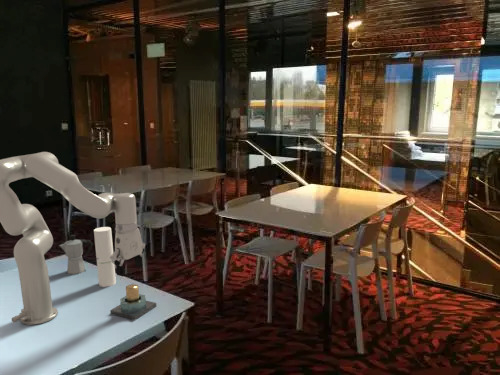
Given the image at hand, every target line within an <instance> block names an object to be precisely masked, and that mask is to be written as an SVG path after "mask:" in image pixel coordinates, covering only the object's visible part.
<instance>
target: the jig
mask: <svg viewBox="0 0 500 375" xmlns="http://www.w3.org/2000/svg"><path fill="white" fill-rule="evenodd" d="M156 307H157V302H153V301H149V300H147V298H146V294H142V293H141V294H140V293H139V301H137V302H133V303H128V302H127V297H126V295H125V296H123V297H121V298H120V304H119V305H117V306H115V307H113V308H112V309H110V315H112V316H118V317H121V318H125V319H128V320H132V321H136V320H138V319H139V318H140V317H143V316H144V315H145V314H147V313H148V312H150V311H151V310H153V309H155V308H156Z"/></svg>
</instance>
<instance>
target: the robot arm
mask: <svg viewBox="0 0 500 375" xmlns="http://www.w3.org/2000/svg"><path fill="white" fill-rule="evenodd" d="M78 177H79V176H78V175H77V174H76V173H75V172H73V171H72V170H70V169H68V168H66V167H65V166H63V165H62V164H60V163H59V159H58V158H57V156H55V154H53V153H51V152H50V151H49V152H48V151H41V152H37V153H31V154H30V153H29V154H25V155H17V156H11V157H6V158H2V159H0V224H1V226H2V228H3V230H4V231H5V233H7V234H9V235H10V236H20V235H22V237H21V238H20V239H19V240H18V241H17V242H16V244H15V245H14V247H13V257H14V260H15V263H16V266H17V270H18V271H17V272H18V277H19V278H18V279H19V282H20V283H19V284H20V290H21V291H20V292H21V298H22V305H23V308H22V309H21V310H20V313H18V315H15V316H13V317H11V322H12V323H13V324H15V323H16V322H18V321H20V322H21V324H23V325H28V326H29V325H30V326H33V325H40V324H44V323H47V322H50V321H51V320H53V319H55V318H56V317H57V316H58V314H59V313H58V312H59V311H58V308H56V307H54V306H53V300H52V298H53V297H52V291H51V284H50V283H51V282H50V275H49V269H48V264H47V262H46V259H45V254H47V252H48V251H49V250H50V249H51V248H52V246H53V244H54V238H53V235H52V233H51V231H50V229H49V227H48V225H47V223H46V220H44V217H43V215H42V214H41V212H40V211H39V210H38V208H37V207H35V206H34V205H33V204H29V203H21V201H20V200H19V197H18V196H17V194H16V193H15V192H14V190H13V189H12V188H11V187H10V186H9V185H10V183H12V182H16V181H18V180H22V179H28V178H34V179H36V180H37V181H40V182H41V183H43V184H45V185H46V186H48V187H50V188H51V189H53V190H55V191H56V192H58V193H60V194H61V195H62V196H63V197H64V198H65V199H66V200H67V201H68V203H70V204H71V205H72V206H73V207H75V208H76V209H78V210H79V211H81V212H83V213H85V214H86V215H87V216H89V217H91V218H93V219H94V218H95V219H103V218H106V217H108V216H109V214H111V213H113V212H114V216H115V228H114V230H115V231H116V232H115V236H114V237H115V238H114V251H113V254H112V255H111V256H110V259H111V260H112V263H114V265H115V271H116V276H119V277H124V276H125V266H124V265H123V264H124V263H125V261H128V260H130V259H132V258H134V266H135V267H137V268H142V267H143V257H144V252H145V247H146V243H145V242H143V240H142V235H141V232H140V229H139V228H138V217H137V215H138V214H137V202H136V201H137V200H136V196H135V194H133V193H130V192H124V193H123V192H122V193H112V192H102V193H99V194H98V195H97V194H96V193H95V194H94V193H93V192H92V191H90V190H88V189H87V188H86V187H84V185H82V183H81V182H80V180H79V178H78Z"/></svg>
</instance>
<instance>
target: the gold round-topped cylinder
mask: <svg viewBox="0 0 500 375" xmlns="http://www.w3.org/2000/svg"><path fill="white" fill-rule="evenodd" d="M125 293H126V294H125V296H126V297H127V302H128V303H133V302H137V301H139V294H140V291H139V285H138V284H136V283H135V284H134V283H131V284H127V285H126V286H125Z"/></svg>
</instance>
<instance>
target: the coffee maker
mask: <svg viewBox="0 0 500 375" xmlns="http://www.w3.org/2000/svg"><path fill="white" fill-rule="evenodd" d="M69 237H70V240H67V241H65V242H63V243H61V244H59V245H58V246H59V247H60V248H61V250H63V251H64V253H65V256H66V257H67V275H71V276H72V275H79V273H80V274H82V273H84V272H86V267H85V262H84V259H83V256H82V255H83V254H84V253H83V252H84V247H86V246H88V245H89V246H88V248H87V250H86V252H85V256H88V254H89V253H90V251H91V250H92V247H93V245H94V244H93V242H92V241H91V240H90V239H76V234H70V235H69Z"/></svg>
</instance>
